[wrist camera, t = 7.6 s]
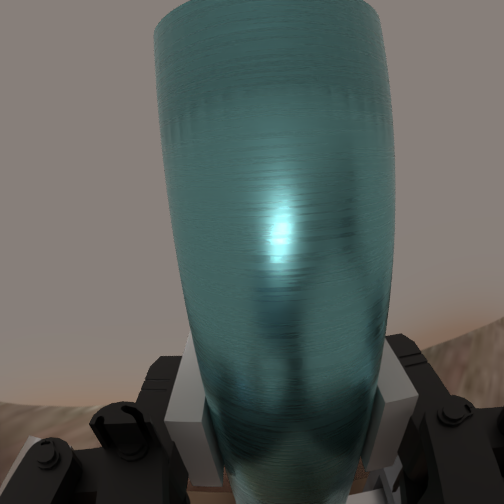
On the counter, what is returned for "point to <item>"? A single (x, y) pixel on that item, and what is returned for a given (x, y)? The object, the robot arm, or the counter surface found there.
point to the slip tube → (282, 230)
